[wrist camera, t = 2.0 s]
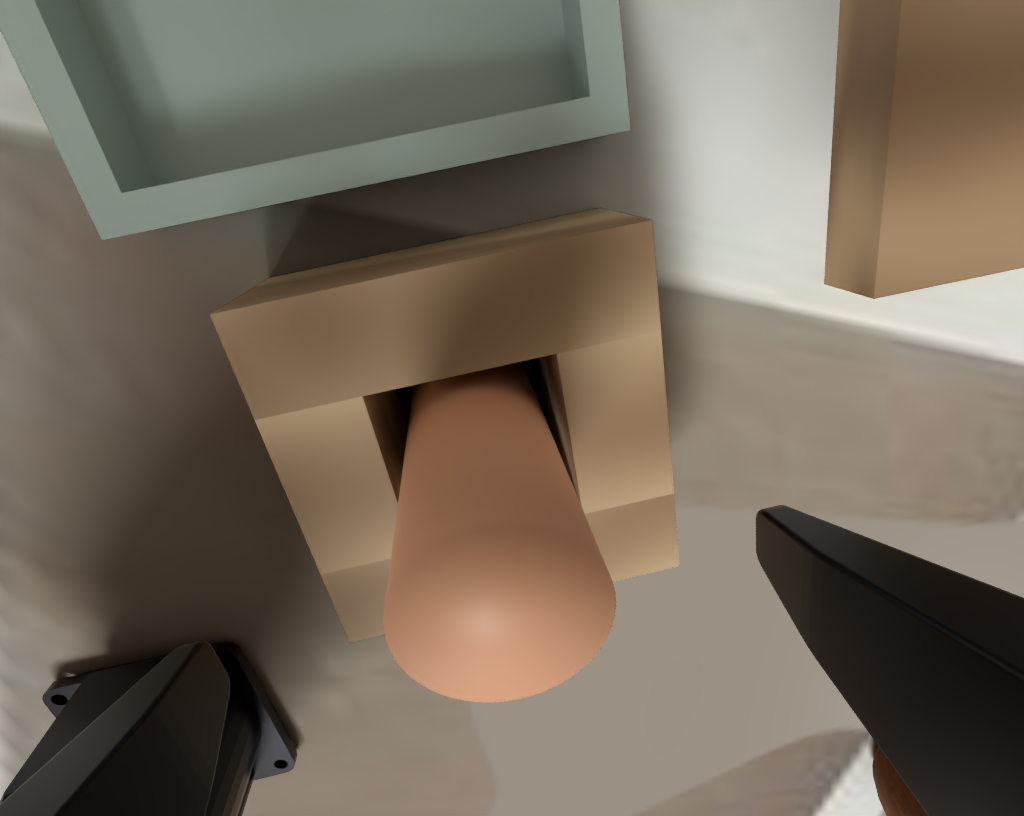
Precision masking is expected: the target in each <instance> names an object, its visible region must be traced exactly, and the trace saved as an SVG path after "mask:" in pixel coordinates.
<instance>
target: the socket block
mask: <svg viewBox="0 0 1024 816" xmlns="http://www.w3.org/2000/svg"><path fill="white" fill-rule="evenodd" d="M210 317H211V319H212V322H213V324H214V326H215V329H216V331H217V333H218V336H219V338H220V340H221V343H222V345H223V347H224V350H225V352H226V354H227V357H228V359H229V362H230V364H231V366H232V369H233V371H234V373H235V376H236V378H237V380H238V383H239V385H240V387H241V390H242V392H243V394H244V397H245V399H246V401H247V404H248V406H249V408H250V411H251V413H252V415H253V418H254V420H255V422H256V425H257V427H258V429H259V432H260V434H261V436H262V439H263V441H264V443H265V446H266V448H267V450H268V453H269V455H270V457H271V460H272V462H273V465H274V467H275V469H276V472H277V474H278V476H279V479H280V481H281V483H282V486H283V488H284V490H285V493H286V495H287V497H288V500H289V502H290V504H291V507H292V509H293V511H294V514H295V516H296V518H297V521H298V523H299V525H300V528H301V530H302V532H303V535H304V537H305V539H306V542H307V544H308V546H309V549H310V551H311V553H312V556H313V558H314V560H315V563H316V565H317V567H318V570H319V572H320V575H321V577H322V579H323V582H324V584H325V586H326V589H327V591H328V593H329V596H330V598H331V600H332V603H333V605H334V607H335V610H336V612H337V614H338V617H339V619H340V621H341V624H342V626H343V628H344V631H345V633H346V635H347V638H348V640H349V642H350V643H353V642H357V641H361V640H365V639H370V638H374V637H378V636H383V635H385V634H384V625H383V619H384V607H385V600H386V592H387V584H388V577H389V569H390V561H391V554H392V546H393V539H394V531H395V523H396V516H397V508H398V501H399V493H400V485H401V478H402V470H403V463H404V455H405V447H406V440H407V432H408V430H407V427H406V424H405V421H404V417H403V414H402V411H401V407H400V404H399V401H398V397H397V394H396V391H395V389H398V388H403V387H408V386H412V385H417V384H421V383H426V382H430V381H435V380H439V379H444V378H448V377H453V376H458V375H462V374H467V373H471V372H476V371H480V370H485V369H489V368H494V367H498V366H503V365H507V364H512V363H517V362H521V361H526V360H530V359H535V358H538V359H539V364H540V370H541V375H542V381H543V387H544V392H545V398H546V403H547V409H548V414H549V420H550V426H551V431H552V436H553V439H554V441H555V444H556V446H557V448H558V451H559V453H560V456H561V458H562V460H563V463H564V465H565V468H566V470H567V473H568V475H569V477H570V480H571V482H572V485H573V487H574V489H575V492H576V494H577V497H578V499H579V501H580V504H581V506H582V509H583V511H584V514H585V516H586V518H587V521H588V523H589V526H590V528H591V530H592V533H593V535H594V538H595V540H596V543H597V545H598V547H599V550H600V552H601V555H602V557H603V559H604V562H605V564H606V567H607V569H608V571H609V574H610V576H611V579H612V581H613V582H614V581H618V580H622V579H627V578H631V577H635V576H639V575H643V574H648V573H652V572H656V571H661V570H665V569H669V568H673V567H677V566H680V564H679V551H678V539H677V526H676V513H675V500H674V488H673V475H672V463H671V450H670V437H669V425H668V412H667V400H666V387H665V374H664V362H663V349H662V337H661V324H660V311H659V299H658V286H657V274H656V261H655V248H654V236H653V223H652V220H651V219H646V218H642V217H638V216H634V215H629V214H625V213H621V212H617V211H612V210H608V209H604V208H596V209H592V210H587V211H582V212H578V213H573V214H568V215H563V216H559V217H554V218H549V219H545V220H540V221H535V222H530V223H526V224H521V225H516V226H512V227H507V228H502V229H498V230H493V231H488V232H483V233H479V234H474V235H469V236H465V237H460V238H455V239H450V240H446V241H441V242H436V243H432V244H427V245H422V246H418V247H413V248H408V249H403V250H399V251H394V252H389V253H385V254H380V255H375V256H370V257H366V258H361V259H356V260H352V261H347V262H342V263H338V264H333V265H328V266H323V267H319V268H314V269H309V270H305V271H300V272H295V273H290V274H286V275H281V276H276V277H272V278H268V279H266V280H264V281H263V282H261V283H260V284H258V285H256V286H255V287H253V288H252V289H250V290H248V291H247V292H245V293H243V294H242V295H240V296H239V297H237V298H235V299H234V300H232V301H231V302H229V303H227V304H226V305H224V306H222V307H221V308H219V309H218V310H216V311H214V312H213V313H211V314H210Z"/></svg>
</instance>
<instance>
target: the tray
mask: <svg viewBox="0 0 1024 816" xmlns="http://www.w3.org/2000/svg"><path fill="white" fill-rule="evenodd" d="M0 30H1V32H2V34H3V36H4V39H5V41H6V43H7V45H8V47H9V49H10V51H11V53H12V55H13V57H14V59H15V61H16V63H17V65H18V68H19V70H20V72H21V74H22V76H23V78H24V80H25V82H26V84H27V86H28V88H29V90H30V92H31V94H32V97H33V99H34V101H35V103H36V105H37V107H38V109H39V111H40V113H41V115H42V117H43V119H44V121H45V123H46V126H47V128H48V130H49V132H50V134H51V136H52V138H53V140H54V142H55V144H56V146H57V148H58V150H59V152H60V155H61V157H62V159H63V161H64V163H65V165H66V167H67V169H68V171H69V173H70V175H71V177H72V179H73V181H74V184H75V186H76V188H77V190H78V192H79V194H80V196H81V198H82V200H83V202H84V204H85V206H86V208H87V210H88V213H89V215H90V217H91V219H92V221H93V223H94V225H95V227H96V229H97V231H98V233H99V235H100V237H101V239H102V240H106V239H111V238H116V237H121V236H126V235H130V234H135V233H140V232H145V231H150V230H155V229H159V228H164V227H169V226H174V225H179V224H183V223H188V222H193V221H198V220H203V219H207V218H212V217H217V216H222V215H227V214H231V213H236V212H241V211H246V210H251V209H255V208H260V207H265V206H270V205H275V204H279V203H284V202H289V201H294V200H299V199H303V198H308V197H313V196H318V195H323V194H327V193H332V192H337V191H342V190H347V189H351V188H356V187H361V186H366V185H370V184H375V183H380V182H385V181H390V180H394V179H399V178H404V177H409V176H414V175H418V174H423V173H428V172H433V171H438V170H442V169H447V168H452V167H457V166H462V165H466V164H471V163H476V162H481V161H486V160H490V159H495V158H500V157H505V156H510V155H514V154H519V153H524V152H529V151H534V150H538V149H543V148H548V147H553V146H558V145H562V144H567V143H572V142H577V141H582V140H586V139H591V138H596V137H601V136H605V135H610V134H615V133H619V132H624V131H629V130H630V119H629V107H628V96H627V85H626V74H625V63H624V51H623V40H622V29H621V18H620V6H619V0H0Z"/></svg>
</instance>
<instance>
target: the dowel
mask: <svg viewBox="0 0 1024 816" xmlns="http://www.w3.org/2000/svg"><path fill="white" fill-rule="evenodd" d="M615 609H616V596H615V590H614V585H613V581H612V579H611V576H610V574H609V571H608V569H607V567H606V564H605V562H604V559H603V557H602V555H601V552H600V550H599V547H598V545H597V543H596V540H595V538H594V535H593V533H592V530H591V528H590V526H589V523H588V521H587V518H586V516H585V514H584V511H583V509H582V506H581V504H580V501H579V499H578V497H577V494H576V492H575V489H574V487H573V485H572V482H571V480H570V477H569V475H568V473H567V470H566V468H565V465H564V463H563V460H562V458H561V456H560V453H559V451H558V448H557V446H556V444H555V441H554V439H553V436H552V434H551V431H550V429H549V427H548V424H547V422H546V419H545V417H544V415H543V412H542V410H541V407H540V405H539V403H538V400H537V398H536V395H535V393H534V390H533V388H532V386H531V383H530V381H529V378H528V376H527V374H526V371H525V369H524V367H523V366H522V364H521V362H517V363H512V364H507V365H503V366H498V367H494V368H489V369H485V370H480V371H476V372H471V373H467V374H462V375H458V376H453V377H448V378H444V379H439V380H435V381H430V382H426V383H421V384H417V385H414V387H413V394H412V402H411V409H410V417H409V424H408V432H407V440H406V447H405V455H404V463H403V470H402V478H401V485H400V493H399V501H398V508H397V516H396V523H395V531H394V539H393V546H392V554H391V561H390V569H389V577H388V584H387V592H386V600H385V607H384V619H383V625H384V634H385V638H386V641H387V645H388V647H389V649H390V652H391V654H392V656H393V657H394V659H395V660H396V662H397V663H398V664H399V666H400V667H401V668H402V669H403V670H404V671H405V672H406V673H407V674H408V675H409V676H410V677H411V678H413V679H414V680H415V681H417V682H418V683H419V684H421V685H423V686H425V687H426V688H428V689H430V690H432V691H434V692H437V693H439V694H441V695H445V696H448V697H451V698H455V699H460V700H465V701H474V702H502V701H511V700H516V699H521V698H525V697H529V696H532V695H536V694H538V693H541V692H543V691H546V690H549V689H551V688H553V687H555V686H557V685H559V684H561V683H562V682H564V681H566V680H567V679H569V678H570V677H572V676H573V675H575V674H576V673H577V672H578V671H580V670H581V669H582V668H583V667H584V666H585V665H587V664H588V663H589V662H590V660H592V659H593V657H594V656H595V655H596V654H597V652H598V651H599V650H600V649H601V647H602V645H603V644H604V642H605V641H606V639H607V637H608V635H609V632H610V630H611V627H612V624H613V620H614V616H615Z"/></svg>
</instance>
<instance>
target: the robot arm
mask: <svg viewBox="0 0 1024 816" xmlns="http://www.w3.org/2000/svg"><path fill="white" fill-rule="evenodd" d="M756 553H757V557H758V560H759V562H760V564H761V567H762V568H763V570H764V571H765V574H766V575H767V577H768V579H769V580H770V582H771V584H772V586H773V587H774V589H775V591H776V593H777V594H778V596H779V598H780V600H781V601H782V603H783V605H784V607H785V608H786V610H787V612H788V613H789V615H790V617H791V619H792V621H793V622H794V624H795V626H796V628H797V629H798V631H799V633H800V635H801V636H802V638H803V639H804V641H805V643H806V644H807V646H808V648H809V649H810V651H811V652H812V654H813V655H814V657H815V658H816V659H817V661H818V662H819V664H820V665H821V667H822V668H823V669H824V671H825V672H826V674H827V675H828V676H829V678H830V679H831V680H832V682H833V683H834V685H835V686H836V687H837V689H838V690H839V692H840V693H841V694H842V696H843V697H844V699H845V700H846V701H847V703H848V704H849V705H850V707H851V708H852V710H853V711H854V713H855V714H856V715H857V717H858V718H859V719H860V721H861V722H862V724H863V725H864V726H865V728H866V729H867V731H868V732H869V733H870V735H871V736H872V738H873V739H874V740H875V742H876V743H877V745H878V746H879V747H880V749H881V750H882V751H883V753H884V754H885V756H886V757H887V758H888V760H889V761H890V763H891V764H892V765H893V767H894V768H895V770H896V771H897V772H898V774H899V775H900V777H901V778H902V779H903V781H904V782H905V783H906V785H907V786H908V788H909V789H910V790H911V792H912V793H913V795H914V796H915V797H916V799H917V800H918V802H919V803H920V804H921V806H922V807H923V809H924V810H925V811H926V813H927V814H928V815H929V816H1024V598H1023V597H1020V596H1017V595H1015V594H1012V593H1010V592H1007V591H1004V590H1002V589H999V588H997V587H994V586H992V585H989V584H986V583H984V582H981V581H979V580H976V579H974V578H971V577H968V576H966V575H963V574H960V573H958V572H955V571H952V570H950V569H948V568H945V567H943V566H940V565H937V564H935V563H932V562H929V561H927V560H924V559H922V558H919V557H917V556H914V555H911V554H909V553H906V552H904V551H901V550H898V549H896V548H893V547H891V546H888V545H886V544H883V543H880V542H878V541H875V540H872V539H870V538H867V537H865V536H862V535H859V534H857V533H854V532H852V531H849V530H847V529H844V528H842V527H839V526H837V525H834V524H831V523H829V522H826V521H824V520H821V519H818V518H816V517H813V516H811V515H808V514H806V513H803V512H800V511H798V510H795V509H793V508H790V507H787V506H784V505H778V506H774V507H770V508H765V509H761V510H760V511H758V513H757V515H756ZM222 656H224V657H227V658H224V657H222ZM43 701H44V704H45V705H46V706H47V707H48V709H49V710H50V711H51V712H52V714H53V715H54V716H55V717H56V720H55V721H54V722H53V724H52V725H51V727H50V728H49V730H48V731H47V732H46V734H45V735H44V737H43V738H42V739H41V741H40V742H39V744H38V745H37V747H36V748H35V749H34V751H33V752H32V754H31V755H30V756H29V758H28V759H27V761H26V762H25V764H24V765H23V766H22V768H21V769H20V771H19V772H18V774H17V775H16V776H15V778H14V779H13V781H12V782H11V783H10V785H9V786H8V788H7V789H6V791H5V792H4V794H3V796H2V798H1V800H0V816H242V814H243V810H244V807H245V804H246V801H247V798H248V794H249V791H250V788H251V785H252V781H253V780H257V779H261V778H265V777H269V776H273V775H278V774H282V773H286V772H288V771H290V770H292V769H293V768H294V765H295V761H296V757H297V751H296V749H295V747H294V746H293V744H292V742H291V740H290V738H289V736H288V735H287V733H286V731H285V729H284V727H283V725H282V723H281V722H280V720H279V718H278V716H277V714H276V712H275V711H274V709H273V707H272V705H271V703H270V701H269V700H268V698H267V696H266V694H265V692H264V690H263V689H262V687H261V685H260V683H259V681H258V679H257V677H256V676H255V674H254V672H253V670H252V668H251V666H250V665H249V663H248V661H247V659H246V657H245V655H244V654H243V652H242V650H241V648H240V647H239V646H238V645H236V644H234V643H232V642H219V643H214V644H210V643H208V642H206V641H198V642H194V643H189V644H185V645H182V646H179V647H177V648H176V649H174V650H173V651H172V652H171V653H170V654H167V655H163V656H158V657H154V658H150V659H146V660H141V661H137V662H133V663H128V664H124V665H120V666H115V667H111V668H107V669H102V670H98V671H94V672H89V673H85V674H81V675H77V676H72V677H68V678H64V679H59V680H57V681H54V682H53V683H52V684H51V686H50V687H49V688H48V690H47V691H46V692H45V693H44V695H43Z"/></svg>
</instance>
